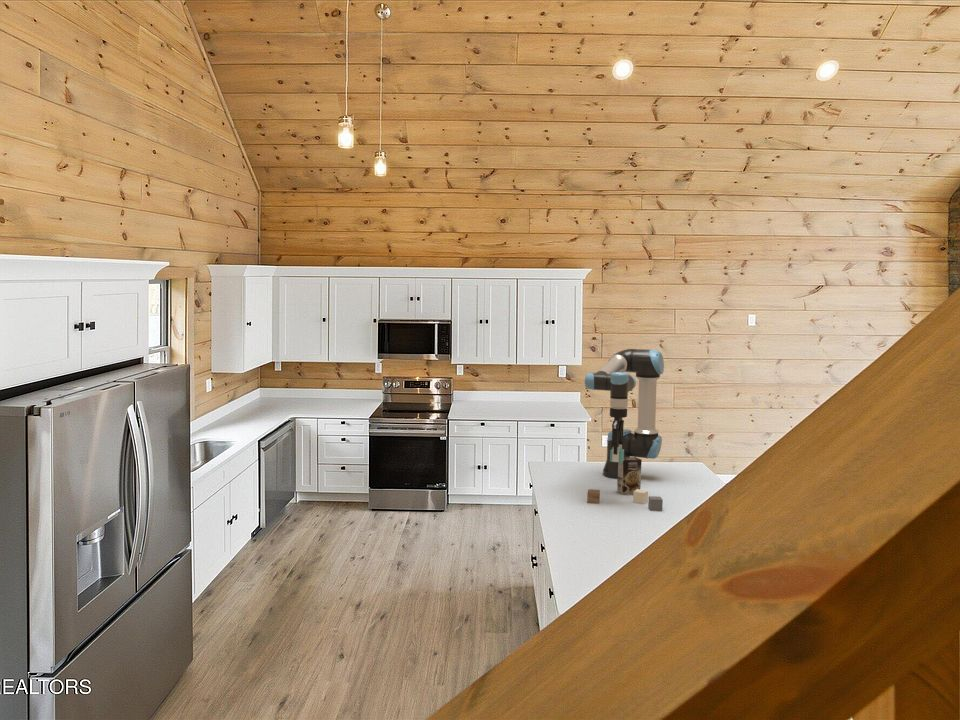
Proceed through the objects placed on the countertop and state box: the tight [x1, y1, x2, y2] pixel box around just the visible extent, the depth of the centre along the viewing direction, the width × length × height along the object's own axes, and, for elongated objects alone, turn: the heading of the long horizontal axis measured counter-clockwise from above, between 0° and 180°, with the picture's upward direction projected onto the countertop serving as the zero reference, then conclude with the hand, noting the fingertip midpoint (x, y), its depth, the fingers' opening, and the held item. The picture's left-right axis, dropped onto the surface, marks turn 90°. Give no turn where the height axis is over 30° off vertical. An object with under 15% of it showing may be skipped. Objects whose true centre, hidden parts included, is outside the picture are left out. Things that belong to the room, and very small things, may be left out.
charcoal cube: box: [647, 495, 664, 512], centre depth 330 cm, size 5×5×5 cm
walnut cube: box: [586, 488, 601, 505], centre depth 340 cm, size 5×5×5 cm
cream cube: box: [632, 488, 649, 505], centre depth 341 cm, size 5×5×5 cm
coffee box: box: [616, 456, 643, 495], centre depth 357 cm, size 9×6×16 cm
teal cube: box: [610, 449, 624, 463], centre depth 339 cm, size 5×5×5 cm
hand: (616, 460), depth 339 cm, fingers closed on teal cube, 5 cm apart
